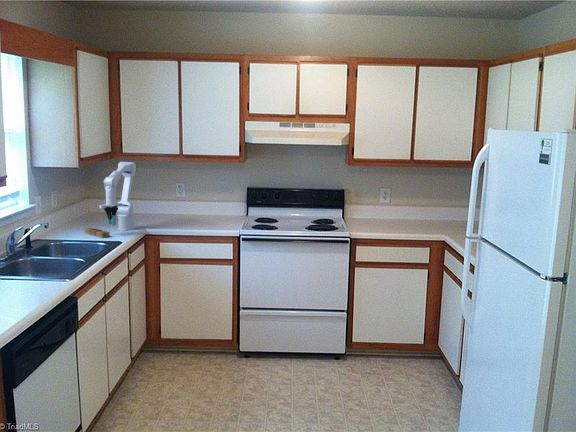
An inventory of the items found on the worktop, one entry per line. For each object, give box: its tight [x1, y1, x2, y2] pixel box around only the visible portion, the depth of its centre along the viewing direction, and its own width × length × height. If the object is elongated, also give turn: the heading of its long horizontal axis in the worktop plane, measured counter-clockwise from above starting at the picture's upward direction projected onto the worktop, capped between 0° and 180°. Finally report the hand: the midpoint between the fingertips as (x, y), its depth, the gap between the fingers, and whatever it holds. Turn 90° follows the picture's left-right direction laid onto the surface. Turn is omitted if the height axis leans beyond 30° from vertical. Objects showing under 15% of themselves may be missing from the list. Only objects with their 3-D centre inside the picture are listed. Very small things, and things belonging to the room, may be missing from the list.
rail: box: [83, 227, 111, 239], centre depth 318 cm, size 5×20×3 cm, turn 51°
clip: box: [106, 213, 117, 226], centre depth 318 cm, size 6×2×6 cm, turn 51°
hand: (111, 219), depth 318 cm, fingers closed on clip, 2 cm apart
